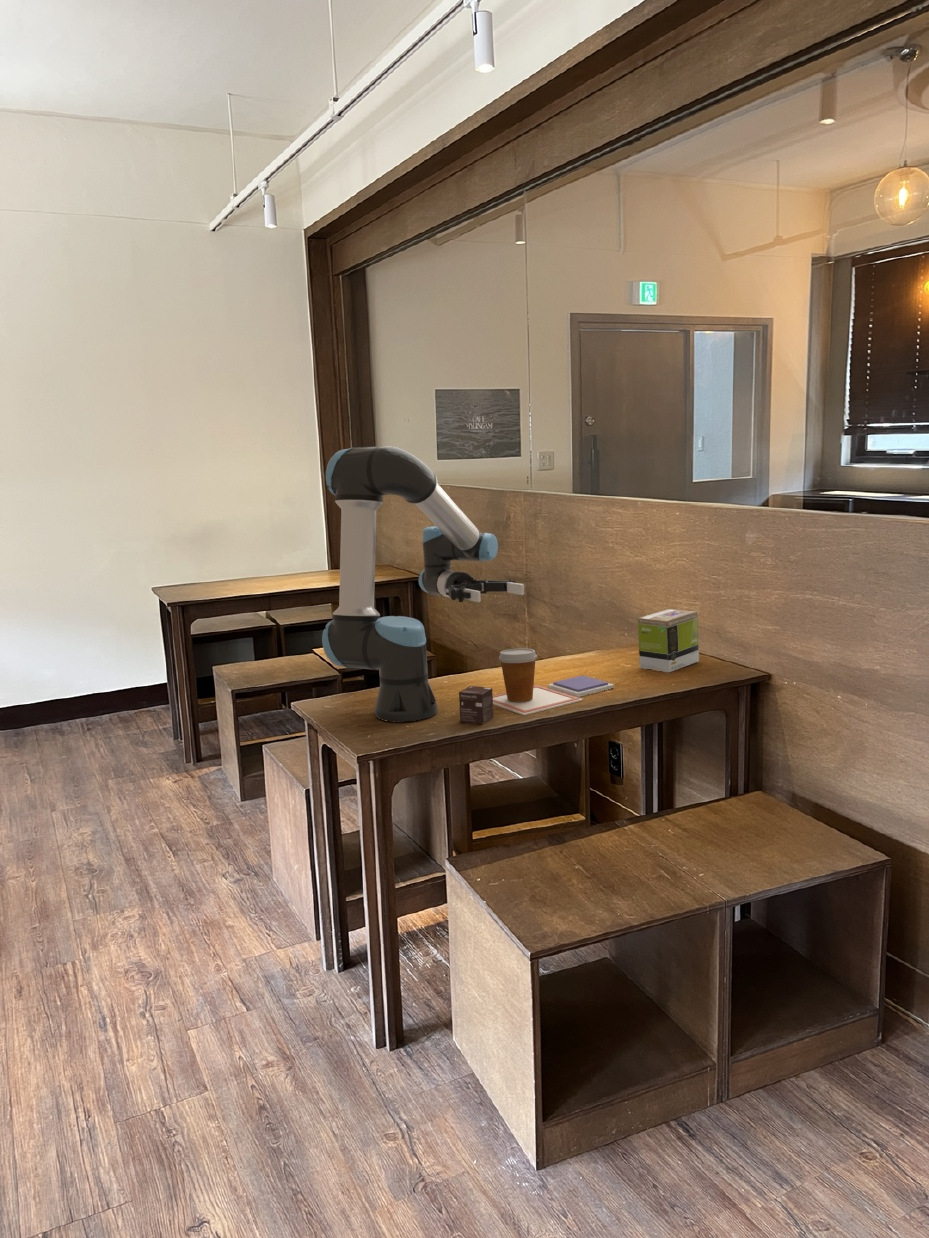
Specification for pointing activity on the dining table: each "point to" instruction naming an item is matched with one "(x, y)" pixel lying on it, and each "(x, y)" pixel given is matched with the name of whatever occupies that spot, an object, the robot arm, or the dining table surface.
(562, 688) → the ink pad
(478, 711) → the box
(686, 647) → the tea box
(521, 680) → the disposable coffee cup
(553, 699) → the marked board
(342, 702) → the dining table surface
